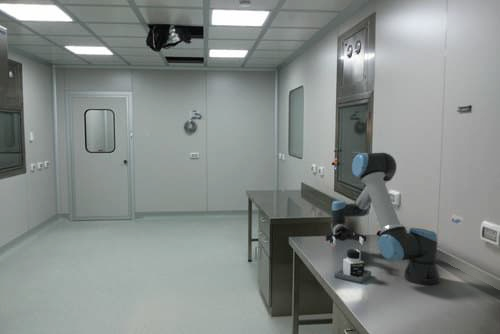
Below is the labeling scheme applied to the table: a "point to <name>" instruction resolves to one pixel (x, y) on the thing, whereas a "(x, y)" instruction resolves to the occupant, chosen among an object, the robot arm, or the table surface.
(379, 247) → the robot arm
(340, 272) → the tray
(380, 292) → the table surface
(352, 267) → the medicine bottle
